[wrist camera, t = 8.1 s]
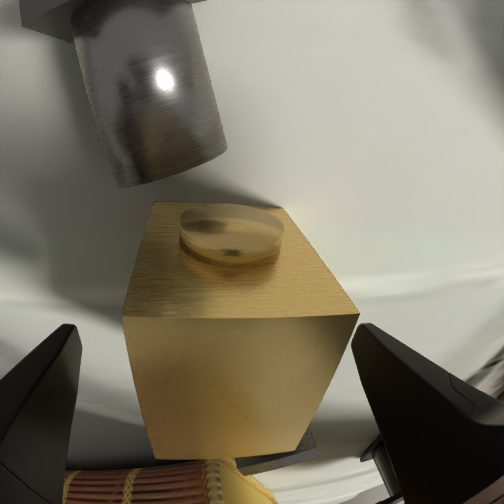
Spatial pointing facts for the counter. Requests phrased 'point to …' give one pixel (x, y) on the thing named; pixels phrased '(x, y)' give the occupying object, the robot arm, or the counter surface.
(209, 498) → the picnic basket
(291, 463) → the shaft
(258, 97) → the counter surface
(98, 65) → the shaft
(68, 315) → the counter surface
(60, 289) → the counter surface
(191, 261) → the tan block
